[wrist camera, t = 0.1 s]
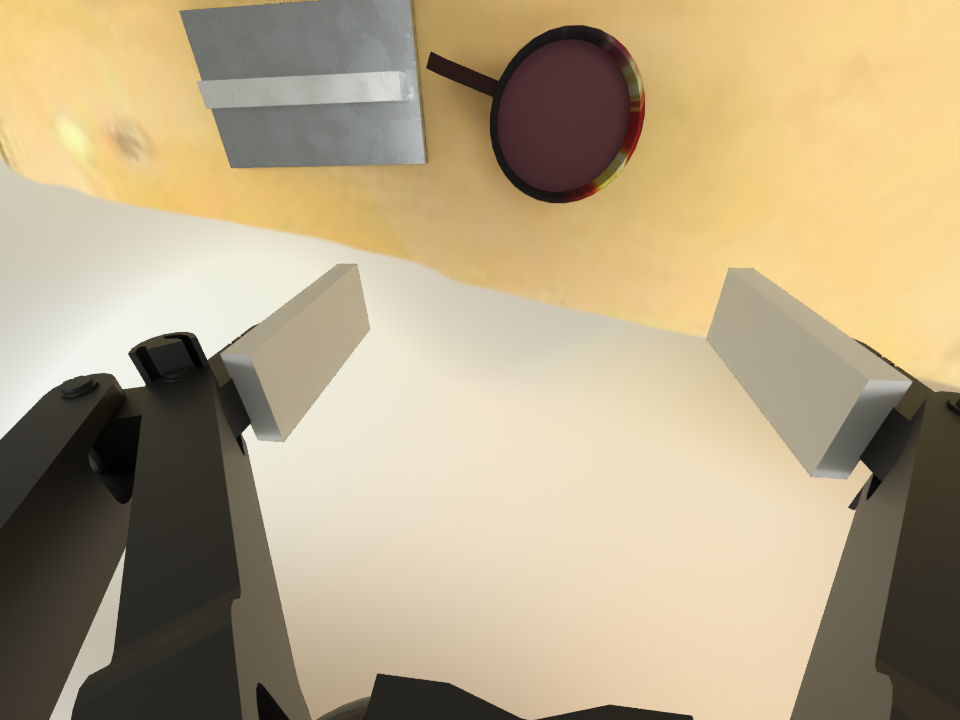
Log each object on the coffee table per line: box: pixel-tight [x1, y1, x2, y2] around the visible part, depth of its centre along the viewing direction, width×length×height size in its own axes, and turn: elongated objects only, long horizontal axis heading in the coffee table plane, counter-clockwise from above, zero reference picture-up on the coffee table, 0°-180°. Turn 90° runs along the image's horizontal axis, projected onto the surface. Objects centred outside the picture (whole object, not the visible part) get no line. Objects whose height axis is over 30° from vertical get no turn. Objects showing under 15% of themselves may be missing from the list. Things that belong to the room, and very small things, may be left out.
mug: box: [426, 25, 645, 203], centre depth 30 cm, size 10×14×12 cm
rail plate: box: [179, 0, 428, 168], centre depth 35 cm, size 12×20×3 cm, turn 92°
